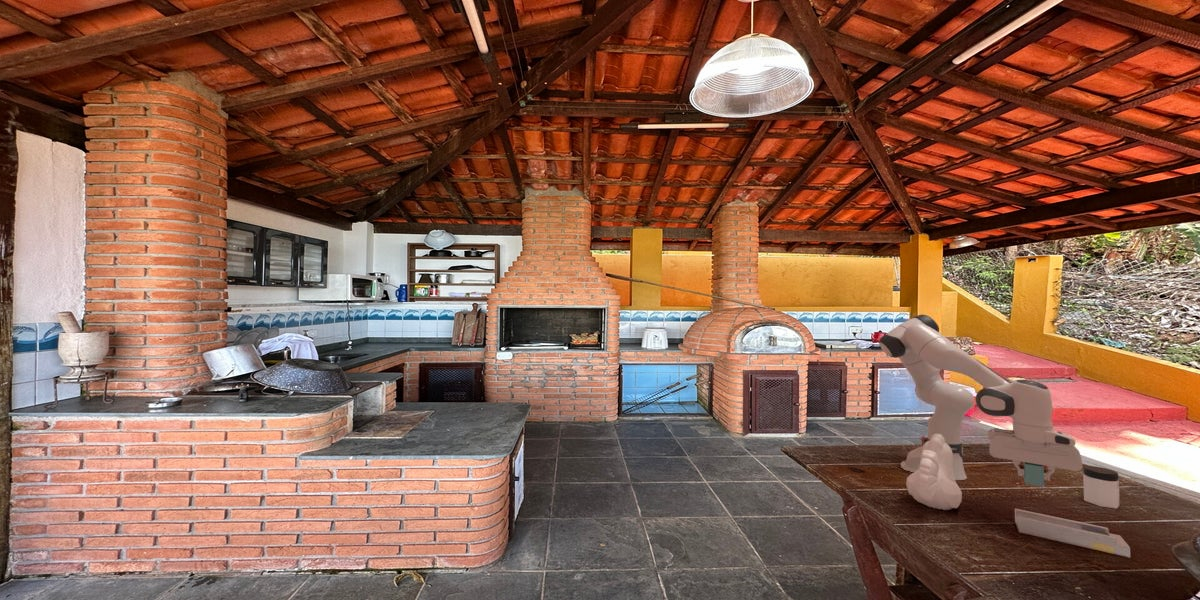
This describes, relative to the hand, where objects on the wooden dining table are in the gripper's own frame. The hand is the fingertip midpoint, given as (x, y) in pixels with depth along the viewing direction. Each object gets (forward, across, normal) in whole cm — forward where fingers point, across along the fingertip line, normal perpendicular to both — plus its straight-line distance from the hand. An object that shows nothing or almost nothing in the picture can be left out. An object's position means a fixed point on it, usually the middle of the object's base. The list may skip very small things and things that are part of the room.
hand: (1033, 477), depth 132 cm
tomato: (+17, +8, +77) cm, 79 cm away
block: (+2, 0, 0) cm, 2 cm away
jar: (+17, +22, +46) cm, 54 cm away
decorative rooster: (+18, -26, +3) cm, 32 cm away
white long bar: (+17, +7, 0) cm, 19 cm away
